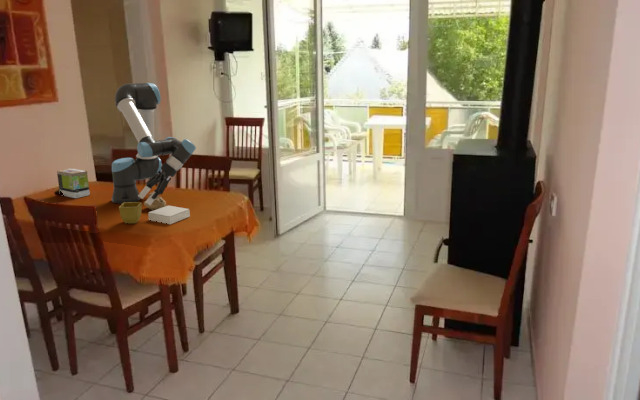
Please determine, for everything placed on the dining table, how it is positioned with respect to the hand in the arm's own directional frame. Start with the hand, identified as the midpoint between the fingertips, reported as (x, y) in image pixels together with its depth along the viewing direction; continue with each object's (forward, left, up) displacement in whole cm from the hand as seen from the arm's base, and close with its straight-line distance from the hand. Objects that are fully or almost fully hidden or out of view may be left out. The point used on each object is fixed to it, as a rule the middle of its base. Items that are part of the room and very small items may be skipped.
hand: (143, 200), depth 246 cm
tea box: (-72, +16, -11) cm, 75 cm away
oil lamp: (-9, +17, -11) cm, 22 cm away
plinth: (+8, +8, -10) cm, 15 cm away
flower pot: (-4, -5, -11) cm, 12 cm away
